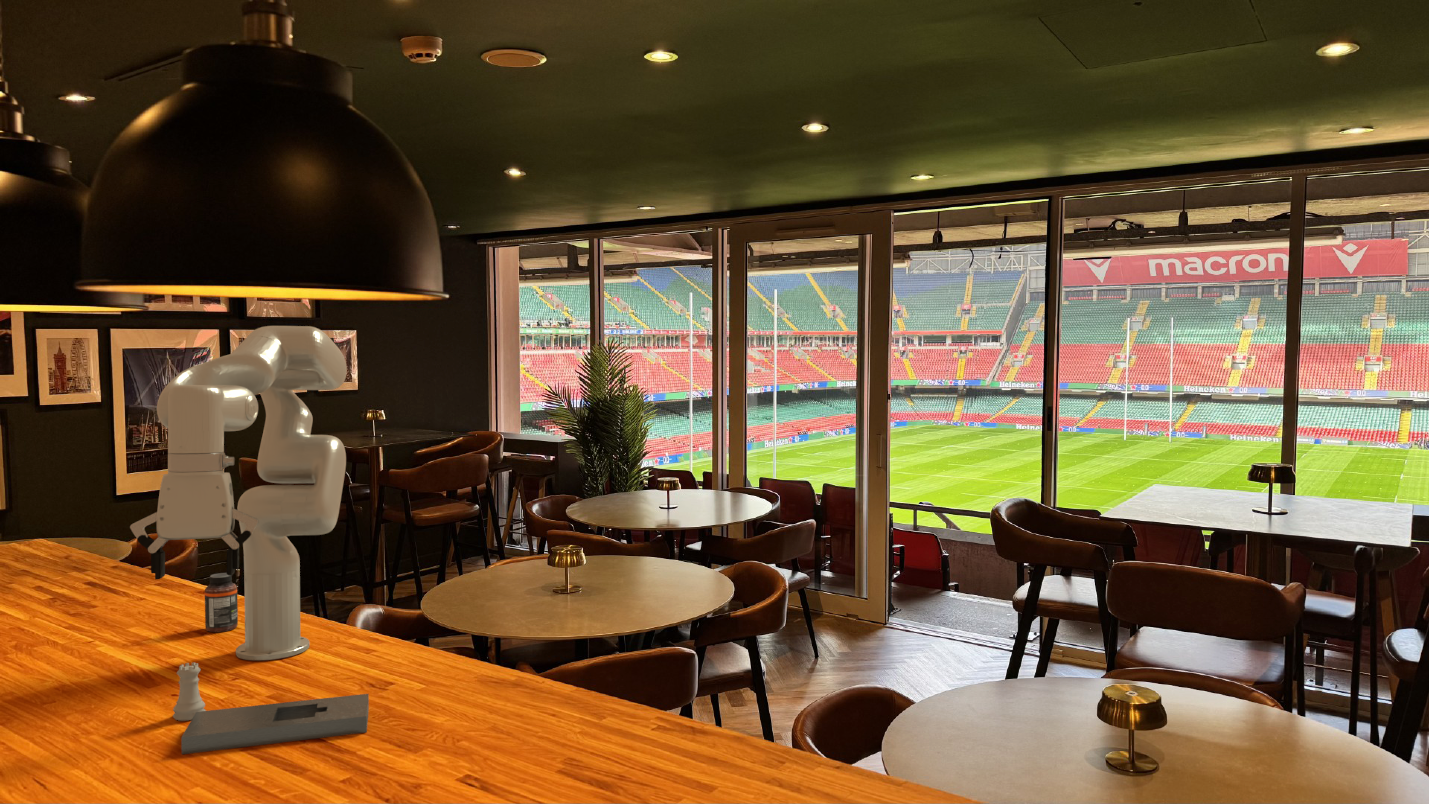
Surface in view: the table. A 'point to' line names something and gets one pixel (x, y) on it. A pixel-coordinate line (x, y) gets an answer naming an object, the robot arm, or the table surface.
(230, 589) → the supplement bottle
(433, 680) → the table surface
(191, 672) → the rook chess piece
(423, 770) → the table surface
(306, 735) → the pocket plate
